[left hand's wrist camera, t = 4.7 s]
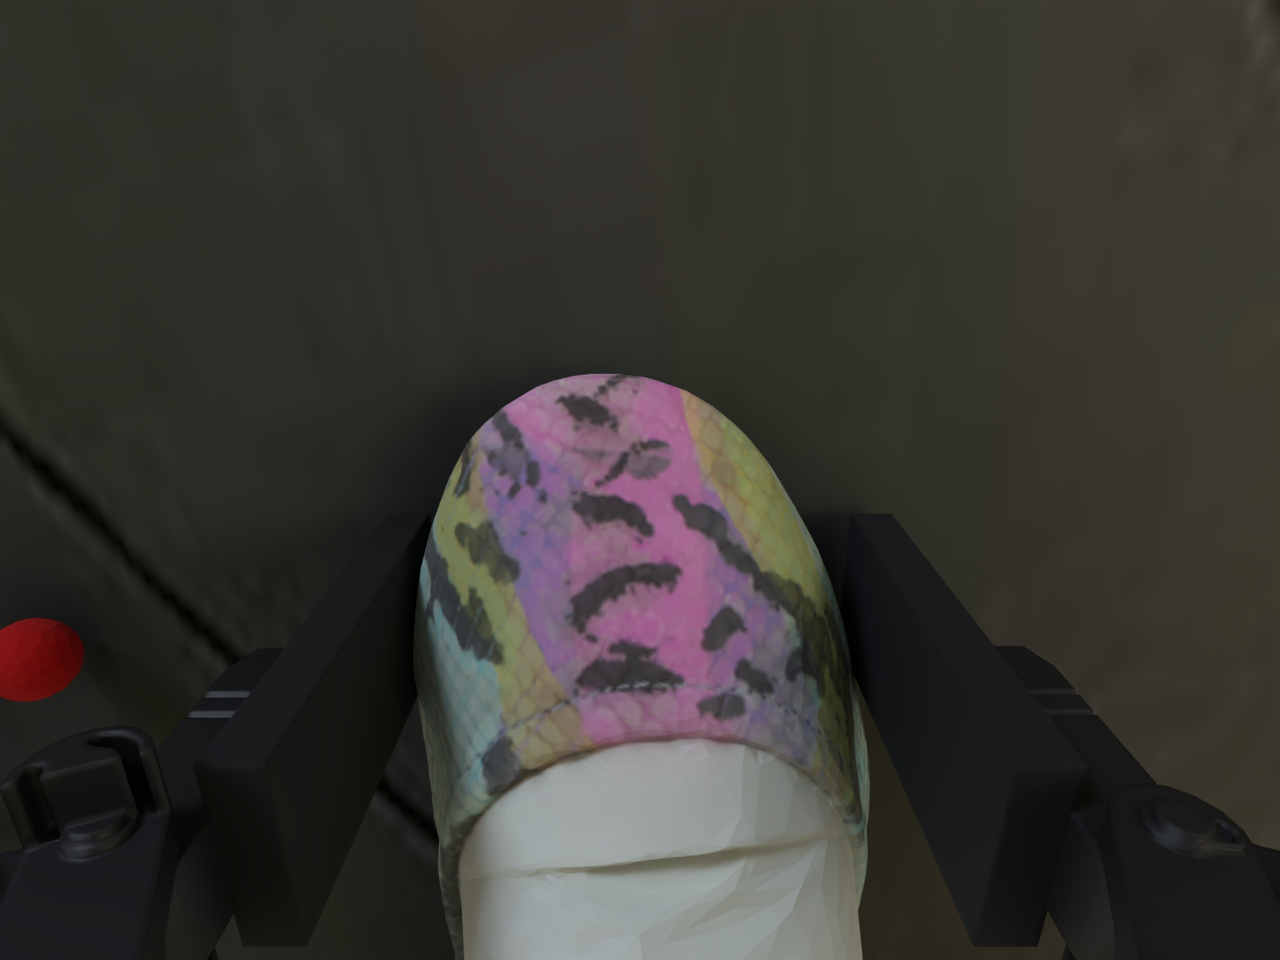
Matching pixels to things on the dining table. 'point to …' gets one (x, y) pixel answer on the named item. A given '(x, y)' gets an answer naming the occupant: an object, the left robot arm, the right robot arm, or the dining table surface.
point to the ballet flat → (636, 692)
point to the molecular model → (38, 658)
